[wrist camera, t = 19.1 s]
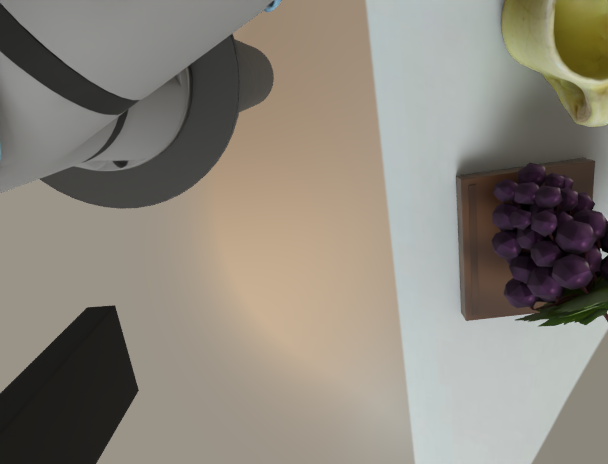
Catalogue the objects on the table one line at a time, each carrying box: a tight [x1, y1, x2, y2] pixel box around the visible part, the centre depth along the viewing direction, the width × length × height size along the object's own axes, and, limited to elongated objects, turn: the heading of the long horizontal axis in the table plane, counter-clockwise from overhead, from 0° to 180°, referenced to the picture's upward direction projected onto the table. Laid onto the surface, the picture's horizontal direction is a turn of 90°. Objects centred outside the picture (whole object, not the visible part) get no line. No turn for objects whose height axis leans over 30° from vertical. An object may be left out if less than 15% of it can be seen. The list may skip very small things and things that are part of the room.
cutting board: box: [456, 158, 595, 321], centre depth 40 cm, size 14×11×2 cm
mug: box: [501, 0, 608, 127], centre depth 31 cm, size 12×10×10 cm
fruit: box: [492, 163, 608, 326], centre depth 34 cm, size 10×11×15 cm
